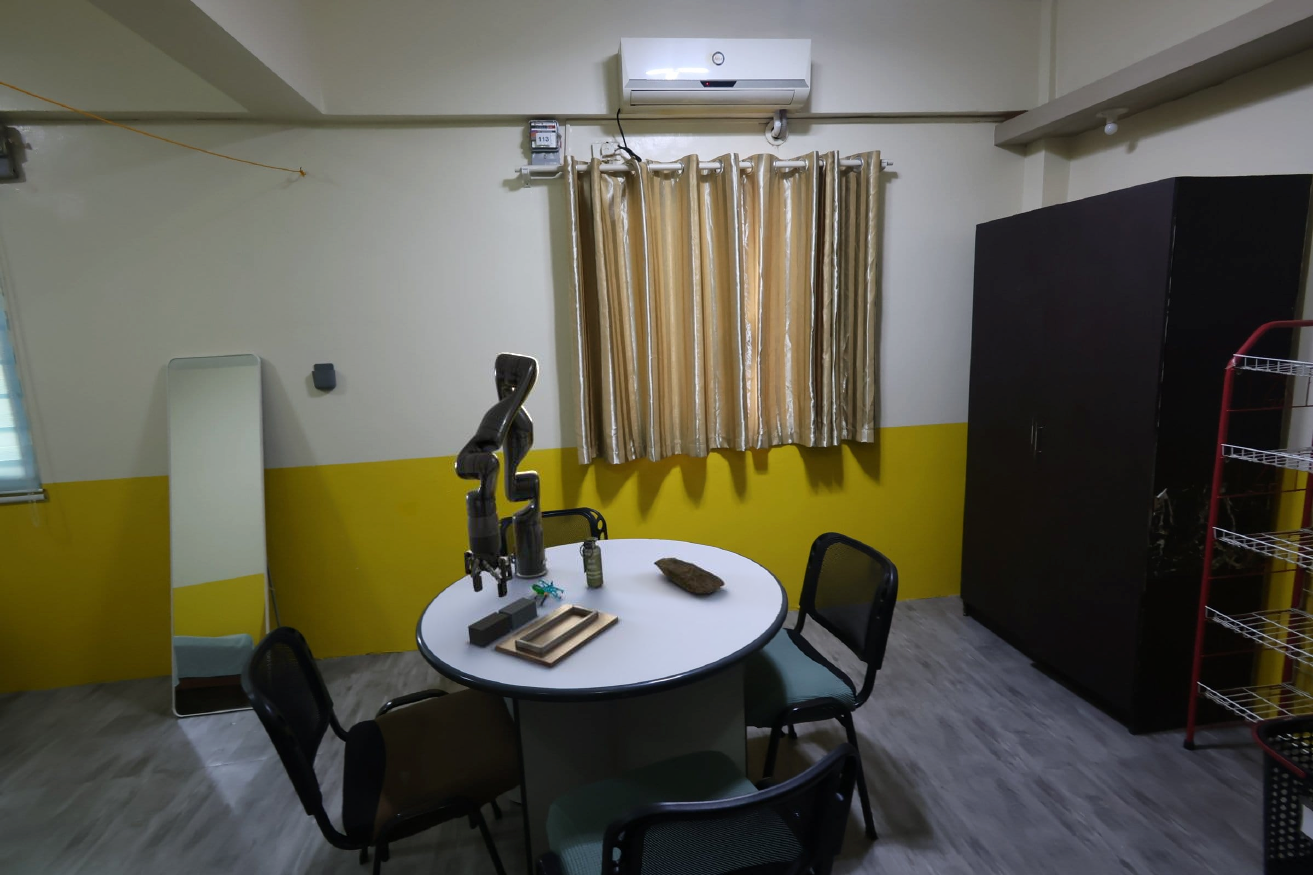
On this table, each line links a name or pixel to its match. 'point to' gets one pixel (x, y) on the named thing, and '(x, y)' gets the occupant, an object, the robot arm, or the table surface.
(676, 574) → the stone
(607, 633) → the table surface
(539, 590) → the stick construction toy
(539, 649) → the mount board
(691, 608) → the table surface
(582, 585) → the table surface
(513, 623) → the pad
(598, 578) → the grenade
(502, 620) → the pad
